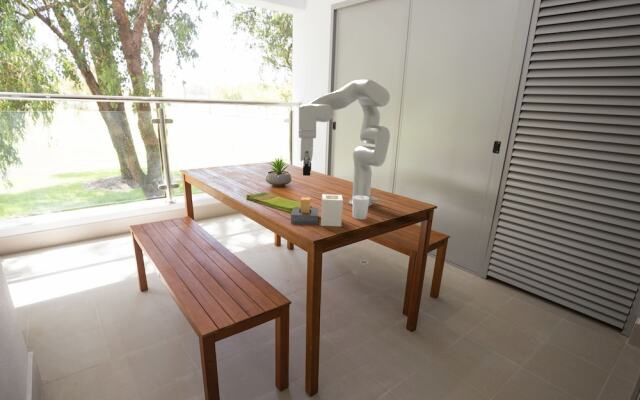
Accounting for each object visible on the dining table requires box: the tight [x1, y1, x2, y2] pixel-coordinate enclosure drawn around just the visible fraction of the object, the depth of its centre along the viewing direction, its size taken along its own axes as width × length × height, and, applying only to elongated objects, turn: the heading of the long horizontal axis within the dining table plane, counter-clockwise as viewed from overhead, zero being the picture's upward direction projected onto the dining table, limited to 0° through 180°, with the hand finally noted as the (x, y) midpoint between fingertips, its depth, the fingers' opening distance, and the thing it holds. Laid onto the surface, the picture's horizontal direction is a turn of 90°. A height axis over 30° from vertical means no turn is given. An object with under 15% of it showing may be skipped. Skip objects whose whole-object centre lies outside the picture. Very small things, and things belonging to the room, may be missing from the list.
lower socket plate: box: [290, 206, 319, 225], centre depth 152 cm, size 12×12×4 cm
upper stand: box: [320, 193, 344, 227], centre depth 148 cm, size 9×9×12 cm
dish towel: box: [246, 191, 314, 214], centre depth 175 cm, size 15×36×3 cm, turn 51°
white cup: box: [351, 195, 369, 220], centre depth 156 cm, size 8×8×10 cm
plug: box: [300, 196, 311, 213], centre depth 151 cm, size 4×4×9 cm
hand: (307, 173), depth 146 cm, fingers open, 9 cm apart
